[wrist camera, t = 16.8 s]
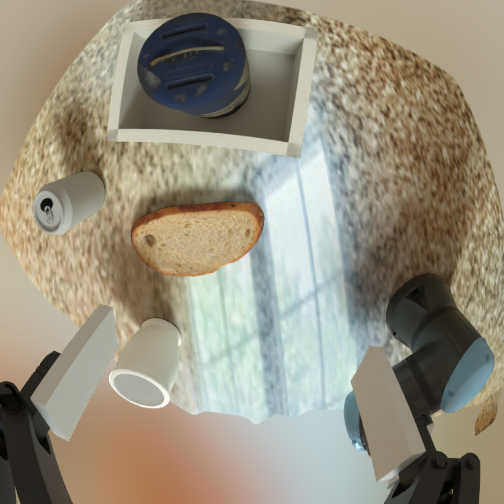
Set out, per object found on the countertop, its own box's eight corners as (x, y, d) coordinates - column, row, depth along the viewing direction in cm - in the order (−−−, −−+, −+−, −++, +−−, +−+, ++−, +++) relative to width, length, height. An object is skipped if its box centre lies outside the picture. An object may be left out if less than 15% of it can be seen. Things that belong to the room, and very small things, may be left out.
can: (99, 163, 38) (54, 177, 27) (113, 205, 41) (73, 230, 30) (68, 179, 39) (22, 197, 28) (82, 218, 42) (40, 245, 31)
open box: (305, 50, 31) (318, 30, 23) (290, 152, 37) (299, 158, 29) (150, 41, 30) (125, 22, 22) (135, 138, 36) (106, 141, 28)
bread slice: (274, 215, 42) (276, 223, 38) (214, 299, 48) (211, 311, 45) (172, 152, 38) (164, 154, 34) (125, 246, 44) (116, 255, 41)
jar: (135, 342, 53) (110, 395, 39) (138, 305, 49) (107, 360, 35) (182, 358, 54) (166, 415, 40) (191, 323, 50) (173, 384, 36)
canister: (246, 123, 35) (236, 113, 18) (178, 118, 35) (119, 109, 18) (255, 59, 31) (254, 5, 15) (187, 56, 31) (139, 8, 14)
